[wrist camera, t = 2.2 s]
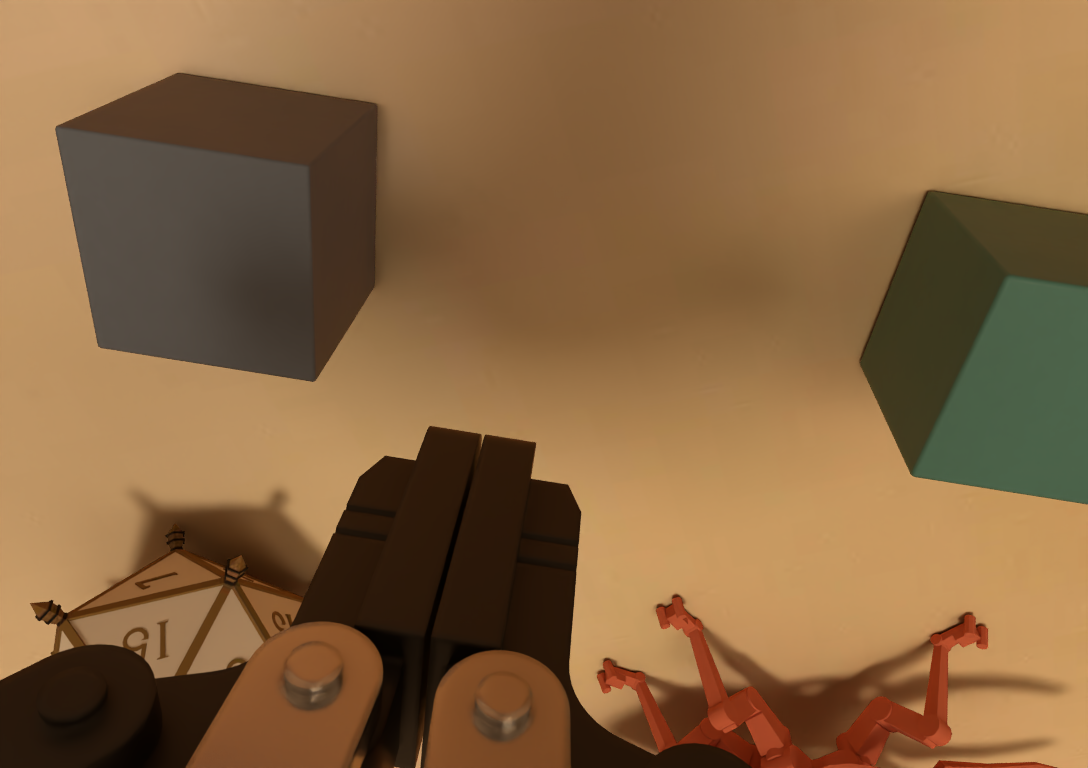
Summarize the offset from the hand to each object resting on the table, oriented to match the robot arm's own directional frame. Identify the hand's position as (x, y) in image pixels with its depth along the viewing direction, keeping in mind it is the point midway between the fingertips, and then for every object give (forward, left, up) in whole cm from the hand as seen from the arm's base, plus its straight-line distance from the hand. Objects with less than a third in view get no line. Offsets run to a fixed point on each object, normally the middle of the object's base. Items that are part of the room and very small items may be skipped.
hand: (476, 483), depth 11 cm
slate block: (0, -6, -10) cm, 11 cm away
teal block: (0, +11, -10) cm, 14 cm away
